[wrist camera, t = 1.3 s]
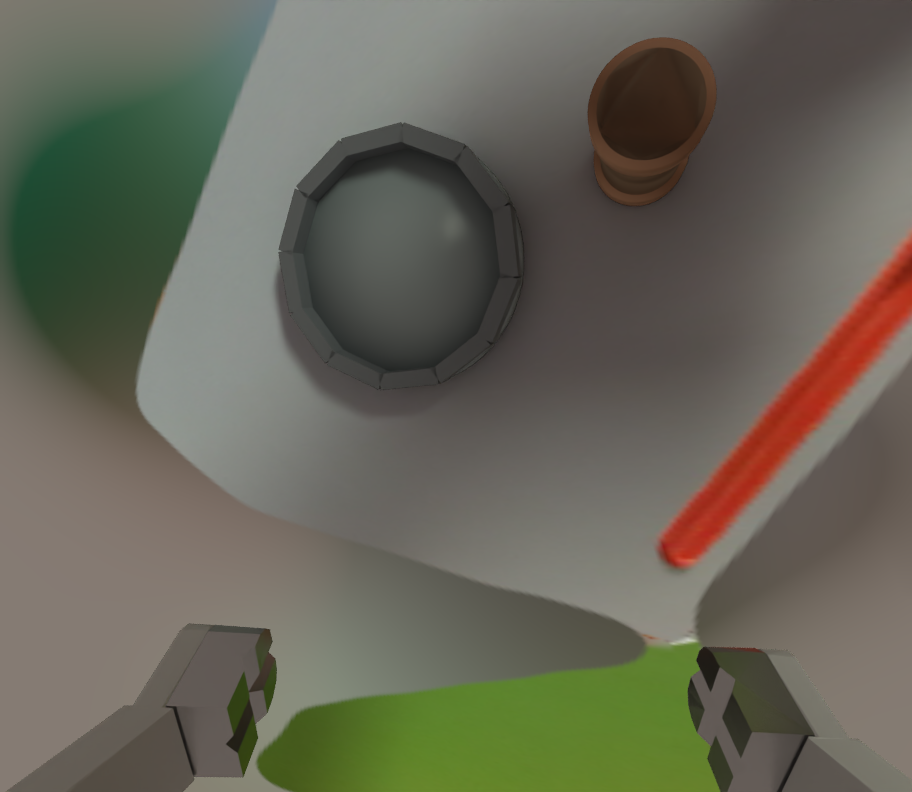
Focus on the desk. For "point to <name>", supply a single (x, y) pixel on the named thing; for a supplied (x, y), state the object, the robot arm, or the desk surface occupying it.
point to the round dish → (401, 257)
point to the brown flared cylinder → (649, 118)
